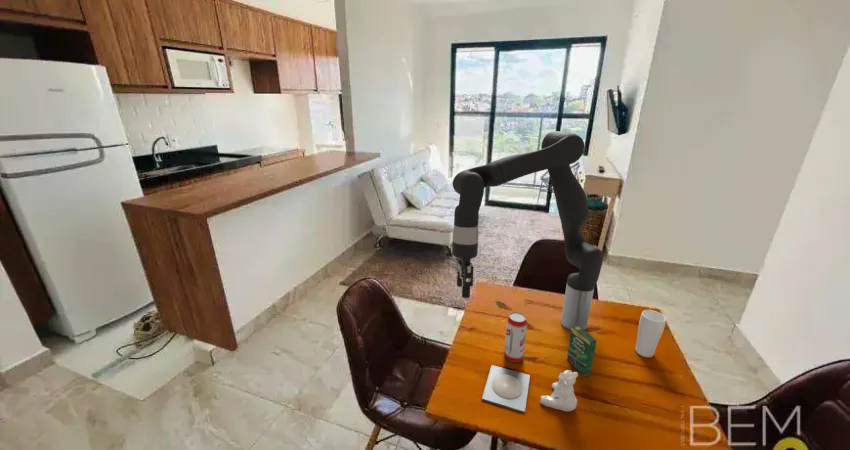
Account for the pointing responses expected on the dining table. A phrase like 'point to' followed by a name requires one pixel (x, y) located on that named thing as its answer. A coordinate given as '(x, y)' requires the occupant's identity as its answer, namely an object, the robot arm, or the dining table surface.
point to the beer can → (515, 337)
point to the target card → (507, 388)
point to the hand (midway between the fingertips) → (462, 291)
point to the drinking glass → (649, 332)
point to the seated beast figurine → (562, 393)
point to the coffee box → (581, 350)
